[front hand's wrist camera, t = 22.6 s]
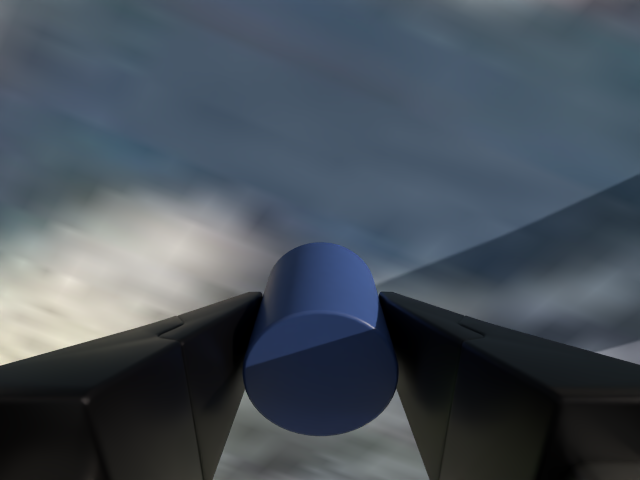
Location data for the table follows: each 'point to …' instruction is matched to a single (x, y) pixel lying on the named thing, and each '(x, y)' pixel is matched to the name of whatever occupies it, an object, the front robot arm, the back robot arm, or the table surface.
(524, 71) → the table surface
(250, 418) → the table surface
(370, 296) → the cylinder
